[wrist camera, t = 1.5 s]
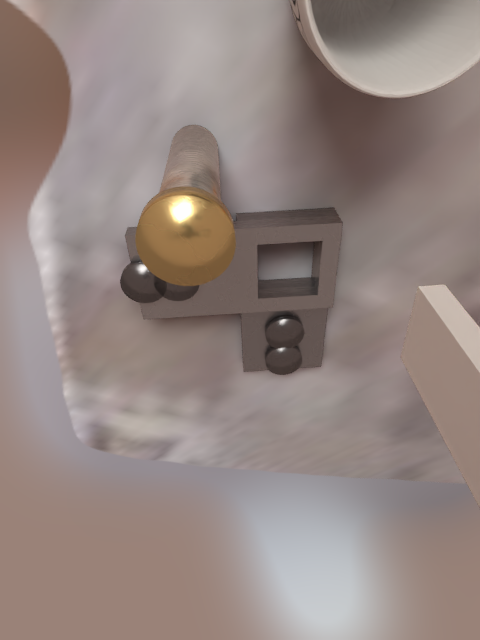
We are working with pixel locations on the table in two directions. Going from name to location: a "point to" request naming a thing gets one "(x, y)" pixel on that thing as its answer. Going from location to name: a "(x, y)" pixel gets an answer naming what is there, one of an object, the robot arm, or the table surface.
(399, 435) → the table surface
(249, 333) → the grey latch plate
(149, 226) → the pin
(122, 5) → the table surface
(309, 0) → the mug
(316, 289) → the chain end
